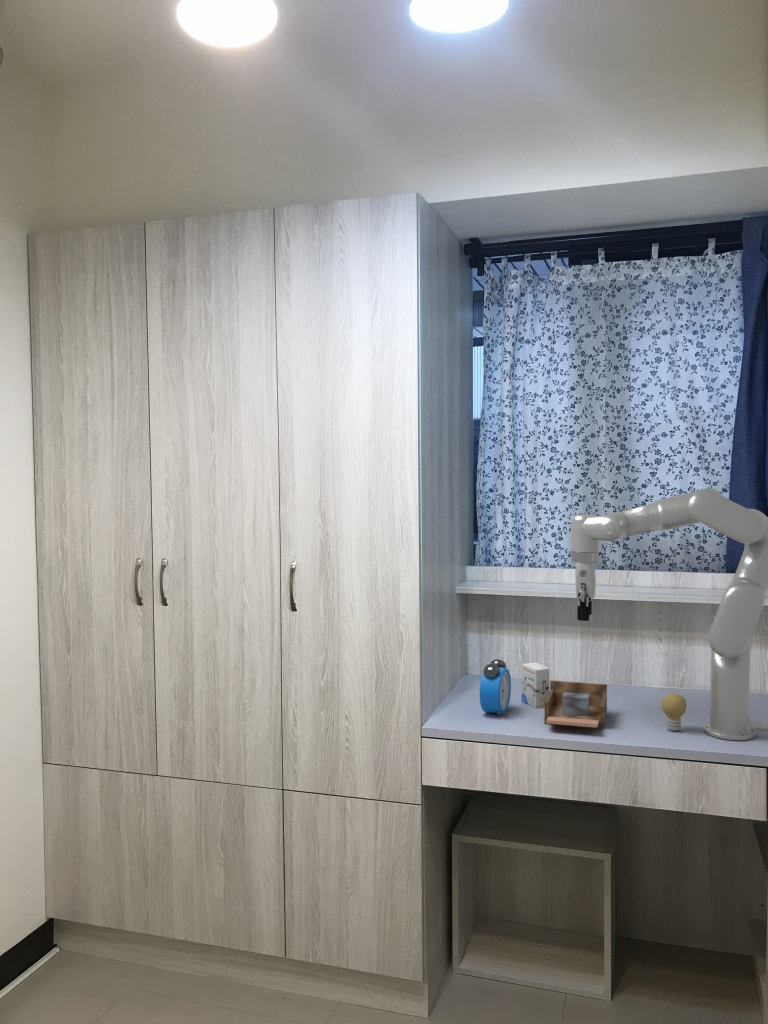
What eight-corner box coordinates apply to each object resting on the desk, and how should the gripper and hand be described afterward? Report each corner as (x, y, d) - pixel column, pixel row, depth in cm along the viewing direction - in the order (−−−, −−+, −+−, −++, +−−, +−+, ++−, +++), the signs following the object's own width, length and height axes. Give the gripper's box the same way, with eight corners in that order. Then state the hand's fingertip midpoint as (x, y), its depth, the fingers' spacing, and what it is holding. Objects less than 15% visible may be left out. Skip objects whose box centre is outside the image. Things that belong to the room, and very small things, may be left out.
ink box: (520, 701, 254) (520, 663, 253) (535, 699, 255) (535, 661, 255) (535, 708, 246) (535, 669, 245) (550, 706, 247) (550, 667, 247)
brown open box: (606, 713, 240) (606, 684, 240) (603, 728, 226) (604, 697, 226) (550, 708, 245) (550, 680, 245) (544, 723, 231) (544, 693, 230)
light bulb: (666, 725, 229) (666, 689, 228) (689, 729, 225) (690, 692, 224) (657, 730, 224) (657, 694, 223) (681, 735, 220) (681, 698, 219)
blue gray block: (589, 711, 235) (589, 694, 235) (588, 716, 231) (588, 698, 230) (563, 709, 237) (563, 692, 237) (562, 714, 233) (562, 696, 233)
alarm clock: (499, 720, 235) (499, 667, 234) (478, 717, 237) (478, 665, 237) (511, 707, 247) (511, 657, 246) (491, 705, 249) (491, 656, 249)
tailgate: (599, 719, 226) (597, 724, 219) (599, 722, 226) (597, 727, 219) (549, 715, 230) (546, 720, 223) (549, 718, 230) (546, 723, 223)
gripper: (596, 561, 227) (596, 623, 227) (600, 554, 243) (600, 613, 244) (568, 560, 229) (568, 622, 230) (573, 554, 245) (573, 612, 246)
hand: (584, 617), depth 237 cm, fingers open, 9 cm apart
